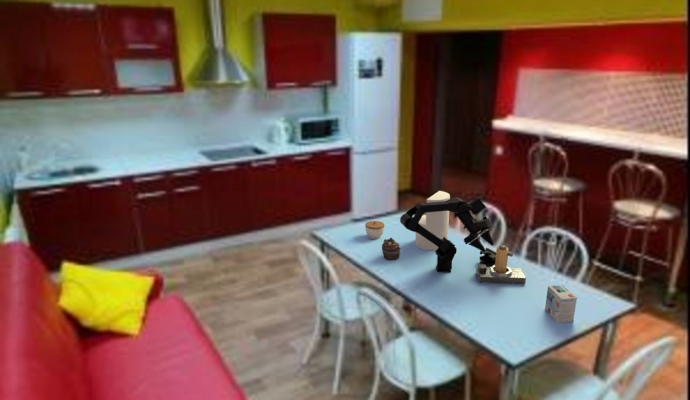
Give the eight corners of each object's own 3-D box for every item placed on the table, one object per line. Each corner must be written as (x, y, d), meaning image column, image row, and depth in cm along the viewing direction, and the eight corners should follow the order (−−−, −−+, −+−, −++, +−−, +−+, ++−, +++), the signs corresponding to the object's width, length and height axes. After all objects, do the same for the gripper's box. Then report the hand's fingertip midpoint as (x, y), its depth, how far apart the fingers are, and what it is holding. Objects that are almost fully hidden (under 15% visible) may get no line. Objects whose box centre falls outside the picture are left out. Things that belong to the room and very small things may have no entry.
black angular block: (503, 266, 233) (504, 254, 231) (492, 269, 230) (493, 256, 228) (489, 258, 241) (490, 246, 239) (478, 261, 238) (479, 249, 236)
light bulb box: (544, 308, 195) (547, 285, 192) (560, 307, 196) (563, 284, 193) (557, 323, 185) (560, 298, 182) (574, 322, 186) (577, 297, 182)
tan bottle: (492, 272, 220) (495, 246, 216) (497, 268, 224) (499, 243, 220) (508, 277, 216) (510, 250, 212) (512, 272, 220) (515, 247, 215)
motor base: (480, 282, 217) (480, 273, 216) (476, 272, 227) (476, 263, 225) (525, 283, 216) (526, 273, 214) (519, 273, 225) (520, 264, 224)
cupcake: (391, 263, 239) (392, 244, 236) (377, 257, 246) (378, 239, 243) (404, 257, 245) (405, 239, 242) (390, 251, 252) (391, 234, 248)
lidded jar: (384, 240, 266) (384, 224, 263) (365, 240, 266) (365, 224, 264) (383, 233, 276) (383, 217, 273) (365, 233, 277) (364, 218, 274)
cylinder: (452, 241, 263) (454, 193, 254) (440, 252, 249) (442, 202, 240) (423, 235, 272) (424, 188, 263) (410, 246, 258) (411, 196, 249)
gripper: (471, 217, 212) (493, 246, 209) (488, 206, 226) (509, 233, 222) (454, 230, 219) (475, 258, 216) (472, 218, 233) (492, 244, 230)
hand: (489, 248), depth 221 cm, fingers open, 9 cm apart
